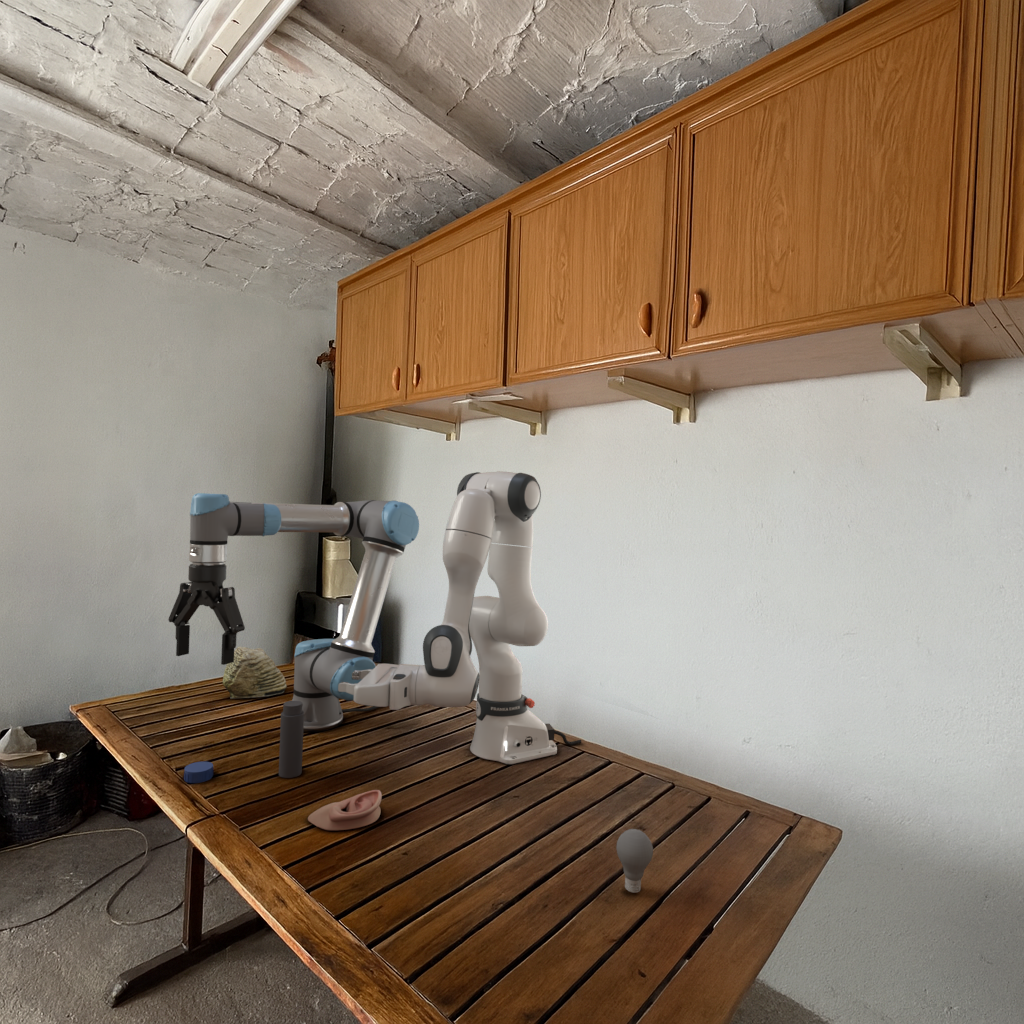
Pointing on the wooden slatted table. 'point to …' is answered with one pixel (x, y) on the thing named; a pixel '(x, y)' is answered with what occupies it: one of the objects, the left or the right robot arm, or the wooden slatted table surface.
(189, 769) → the lid
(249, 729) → the wooden slatted table surface
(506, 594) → the right robot arm
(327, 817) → the anatomical model
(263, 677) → the fossil
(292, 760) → the grey bottle
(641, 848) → the light bulb
